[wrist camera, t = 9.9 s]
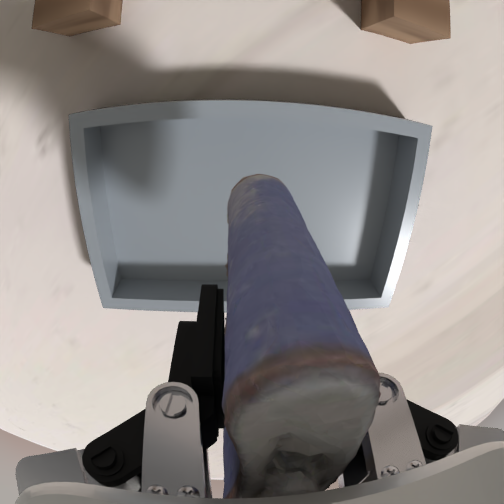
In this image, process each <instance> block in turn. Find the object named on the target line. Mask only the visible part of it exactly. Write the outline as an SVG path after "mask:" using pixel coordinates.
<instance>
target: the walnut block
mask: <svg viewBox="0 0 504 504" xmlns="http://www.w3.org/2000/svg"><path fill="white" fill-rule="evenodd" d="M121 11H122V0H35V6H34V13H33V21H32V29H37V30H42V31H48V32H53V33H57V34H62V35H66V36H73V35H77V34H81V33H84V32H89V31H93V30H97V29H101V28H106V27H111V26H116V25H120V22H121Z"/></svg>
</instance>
